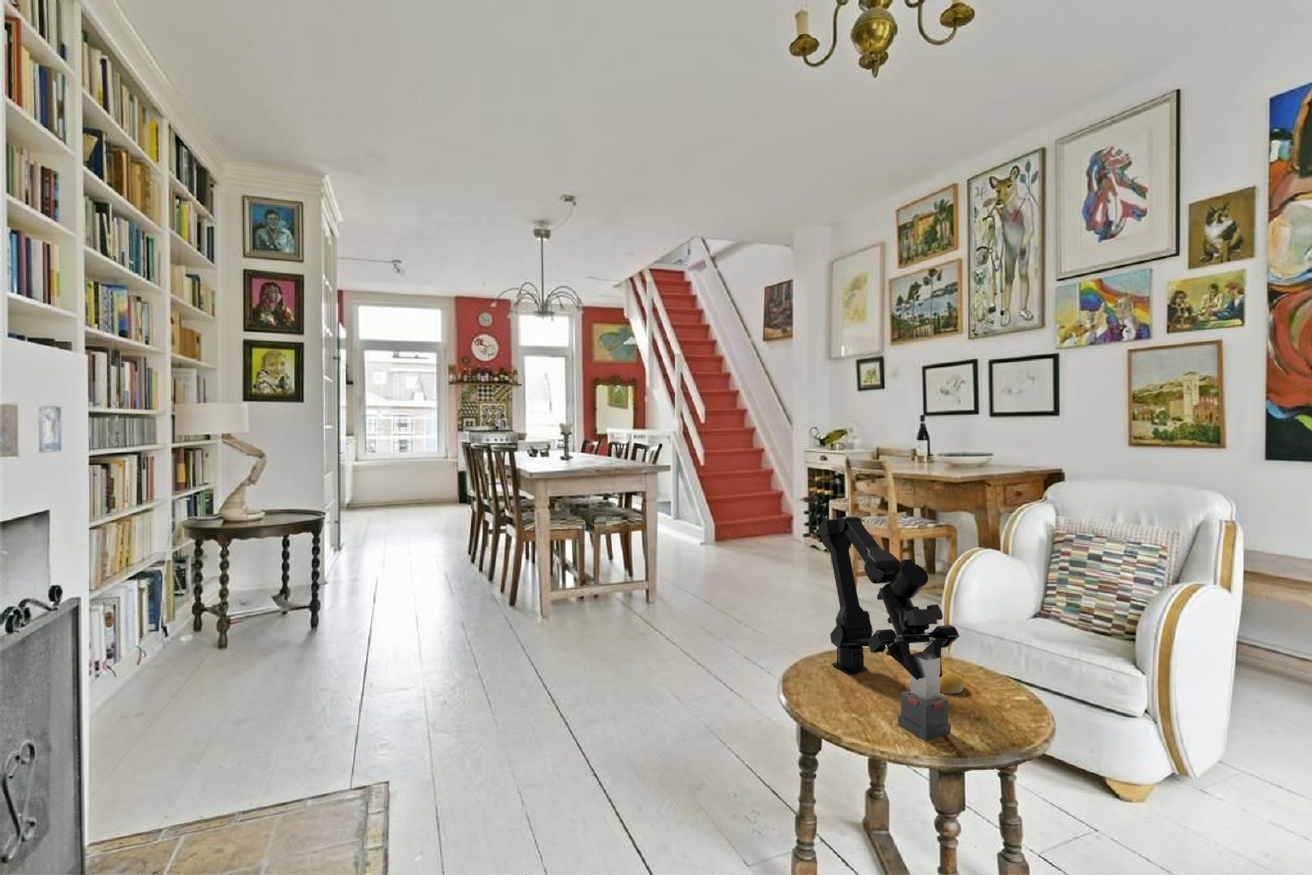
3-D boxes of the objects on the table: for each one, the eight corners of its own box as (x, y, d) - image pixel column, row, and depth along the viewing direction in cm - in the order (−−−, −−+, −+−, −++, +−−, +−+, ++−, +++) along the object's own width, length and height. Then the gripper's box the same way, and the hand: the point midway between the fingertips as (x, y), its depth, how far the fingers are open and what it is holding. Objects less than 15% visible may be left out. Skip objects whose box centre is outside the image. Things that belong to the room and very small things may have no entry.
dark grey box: (897, 724, 134) (898, 692, 134) (922, 717, 137) (923, 686, 137) (925, 740, 128) (926, 706, 127) (950, 733, 131) (951, 700, 131)
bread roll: (954, 698, 147) (955, 681, 147) (917, 685, 154) (917, 669, 154) (970, 688, 153) (970, 672, 153) (933, 676, 160) (933, 660, 159)
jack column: (909, 705, 133) (910, 653, 133) (923, 701, 135) (924, 650, 135) (925, 713, 130) (926, 661, 129) (939, 709, 131) (941, 657, 131)
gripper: (876, 593, 133) (904, 665, 123) (955, 588, 137) (989, 658, 127) (856, 617, 142) (882, 687, 131) (931, 612, 145) (962, 680, 135)
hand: (929, 678), depth 131 cm, fingers closed on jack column, 5 cm apart
